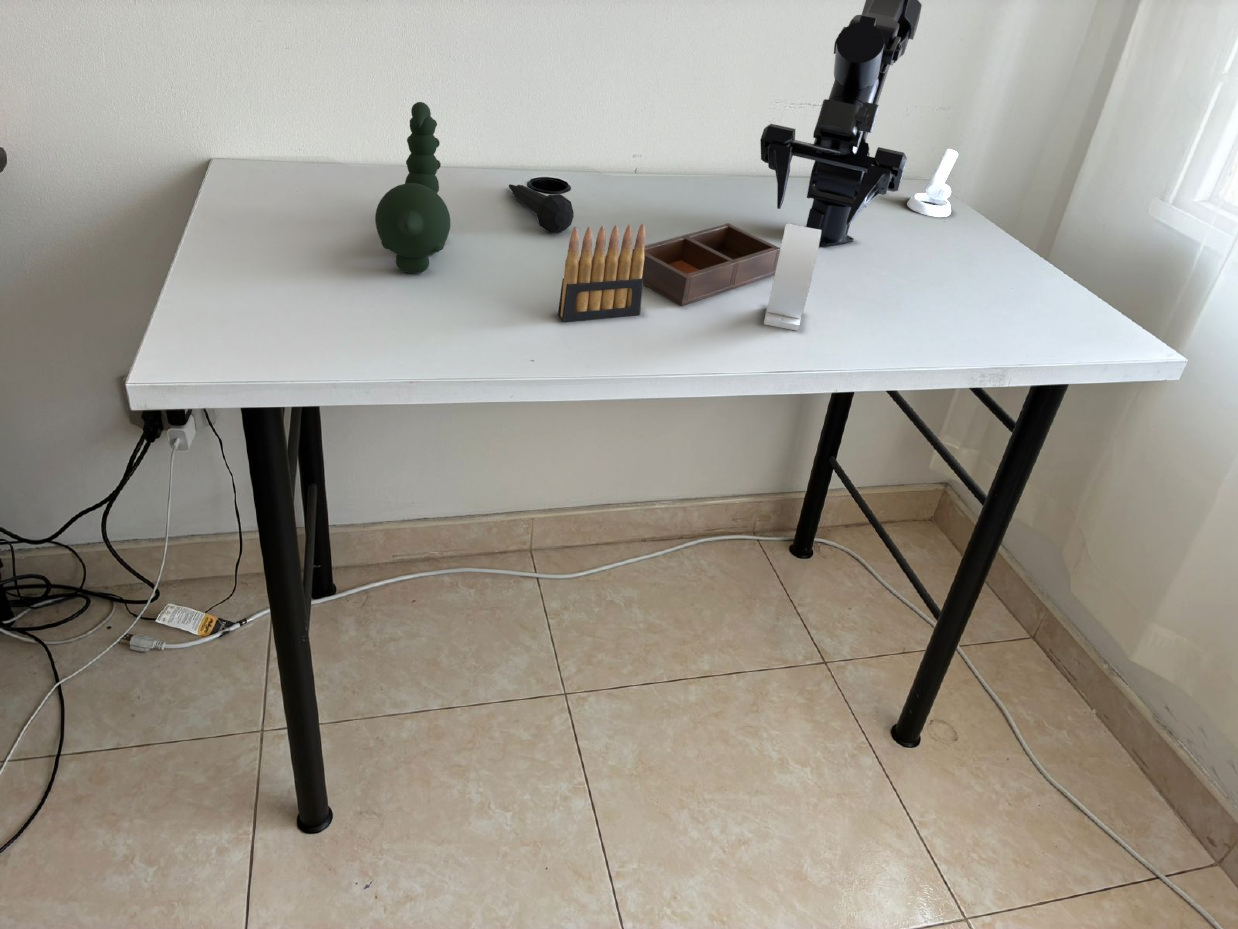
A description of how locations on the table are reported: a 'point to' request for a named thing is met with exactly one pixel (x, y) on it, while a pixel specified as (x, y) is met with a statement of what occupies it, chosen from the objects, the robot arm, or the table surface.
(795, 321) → the headphone stand
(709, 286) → the divided wooden tray
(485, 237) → the table surface
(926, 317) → the table surface
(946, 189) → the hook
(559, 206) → the microphone
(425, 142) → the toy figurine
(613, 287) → the ammunition clip
